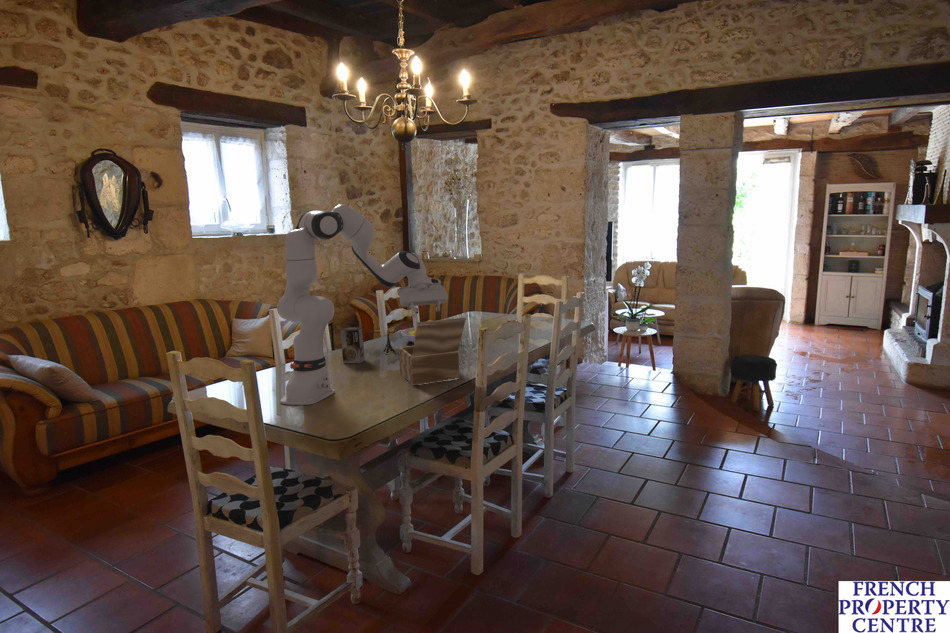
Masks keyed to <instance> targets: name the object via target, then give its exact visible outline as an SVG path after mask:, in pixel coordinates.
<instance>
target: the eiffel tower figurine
mask: <svg viewBox="0 0 950 633" xmlns="http://www.w3.org/2000/svg"><path fill="white" fill-rule="evenodd" d="M386 331H387V332H386V333H387V334H386V335H387V338H386V345H385V347H384V349H383V350H382V353H383V352H385V351H386V354H387V353H388V351H393V352H395V353H396V351H395V349H394V348H393V346H392V344H391V341H390V335H389V334H390V333H389V332H390V331H389V329H388V328H387V330H386ZM380 355H382V354H380ZM383 355H384V356H386V355H385V353H383Z"/></svg>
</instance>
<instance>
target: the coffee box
mask: <svg viewBox="0 0 950 633" xmlns="http://www.w3.org/2000/svg"><path fill="white" fill-rule="evenodd" d="M340 339H341V352H342V363H343V364H362V363H363V362H364V361H365V346H364V344H365V343H364V331H363V327H357V326H356V327H344V328H342V329H340Z"/></svg>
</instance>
